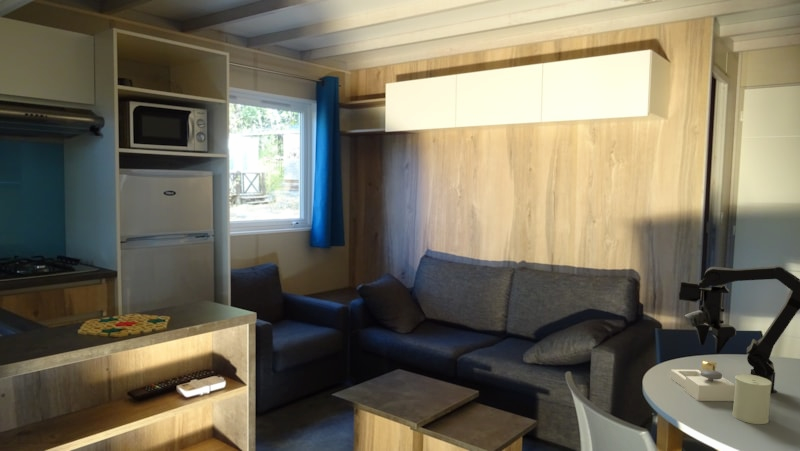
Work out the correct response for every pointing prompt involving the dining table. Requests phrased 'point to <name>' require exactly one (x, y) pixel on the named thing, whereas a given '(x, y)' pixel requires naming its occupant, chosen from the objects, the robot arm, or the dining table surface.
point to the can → (751, 399)
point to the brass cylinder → (708, 365)
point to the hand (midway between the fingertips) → (709, 348)
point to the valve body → (704, 384)
